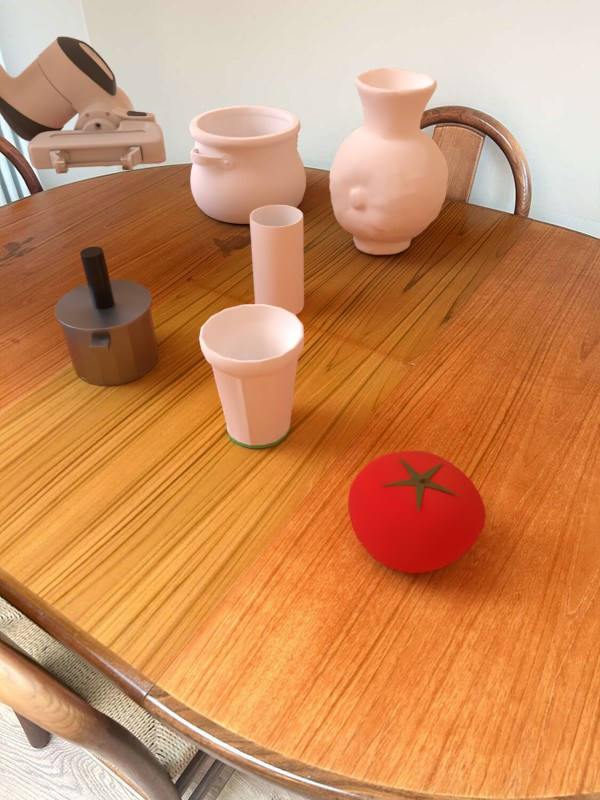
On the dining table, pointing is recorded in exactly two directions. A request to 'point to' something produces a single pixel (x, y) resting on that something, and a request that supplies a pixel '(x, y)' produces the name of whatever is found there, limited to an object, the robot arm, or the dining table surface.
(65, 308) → the lid
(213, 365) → the cup
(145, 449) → the dining table surface
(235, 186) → the pot
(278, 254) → the cup
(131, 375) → the cooker
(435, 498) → the tomato
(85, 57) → the robot arm
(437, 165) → the vase
